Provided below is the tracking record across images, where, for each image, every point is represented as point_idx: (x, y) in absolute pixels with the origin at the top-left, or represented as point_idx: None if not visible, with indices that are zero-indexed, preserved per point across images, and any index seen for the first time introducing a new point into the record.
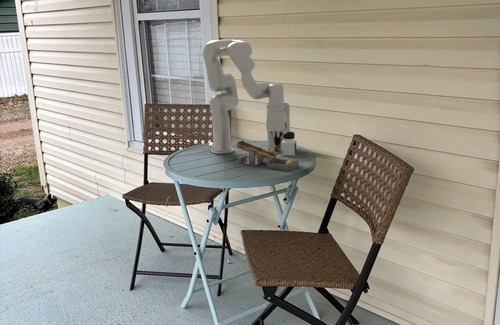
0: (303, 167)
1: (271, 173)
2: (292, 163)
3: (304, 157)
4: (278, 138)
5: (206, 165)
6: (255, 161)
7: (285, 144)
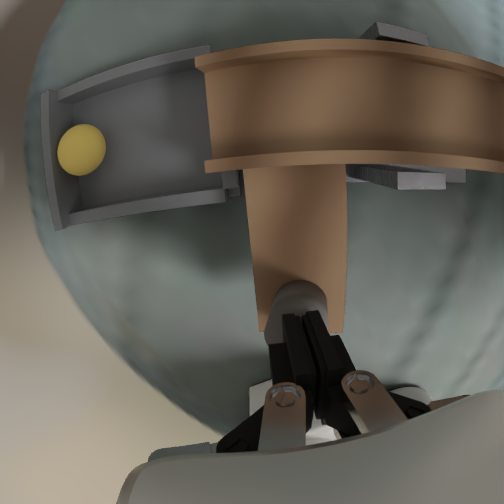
0: None
1: (129, 7)
2: (46, 140)
3: (183, 382)
4: (284, 380)
5: (496, 24)
6: None
7: None
